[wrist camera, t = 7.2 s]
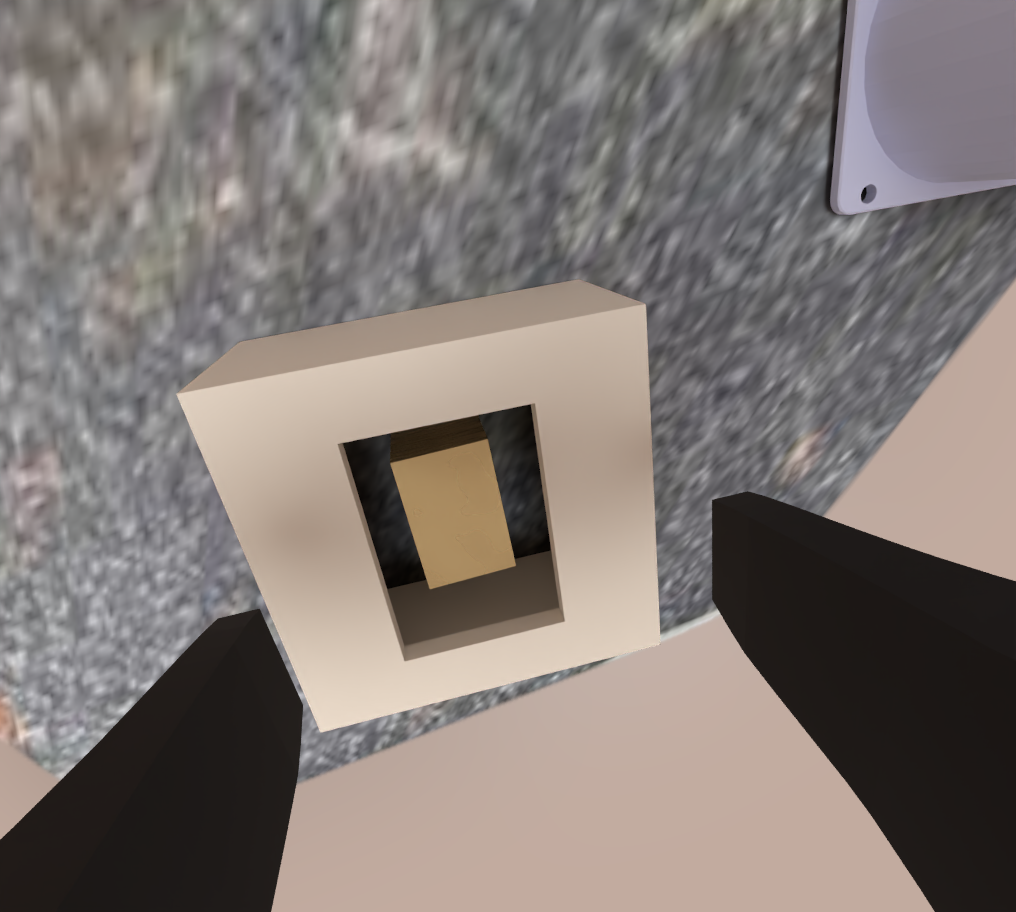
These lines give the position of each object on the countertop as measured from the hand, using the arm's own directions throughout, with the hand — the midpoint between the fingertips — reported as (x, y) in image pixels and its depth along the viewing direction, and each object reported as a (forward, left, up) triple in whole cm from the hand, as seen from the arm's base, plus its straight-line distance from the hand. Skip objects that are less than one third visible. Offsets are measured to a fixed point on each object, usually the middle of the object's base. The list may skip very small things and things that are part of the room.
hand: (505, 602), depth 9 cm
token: (+1, +2, -10) cm, 10 cm away
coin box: (+1, +2, -10) cm, 10 cm away
